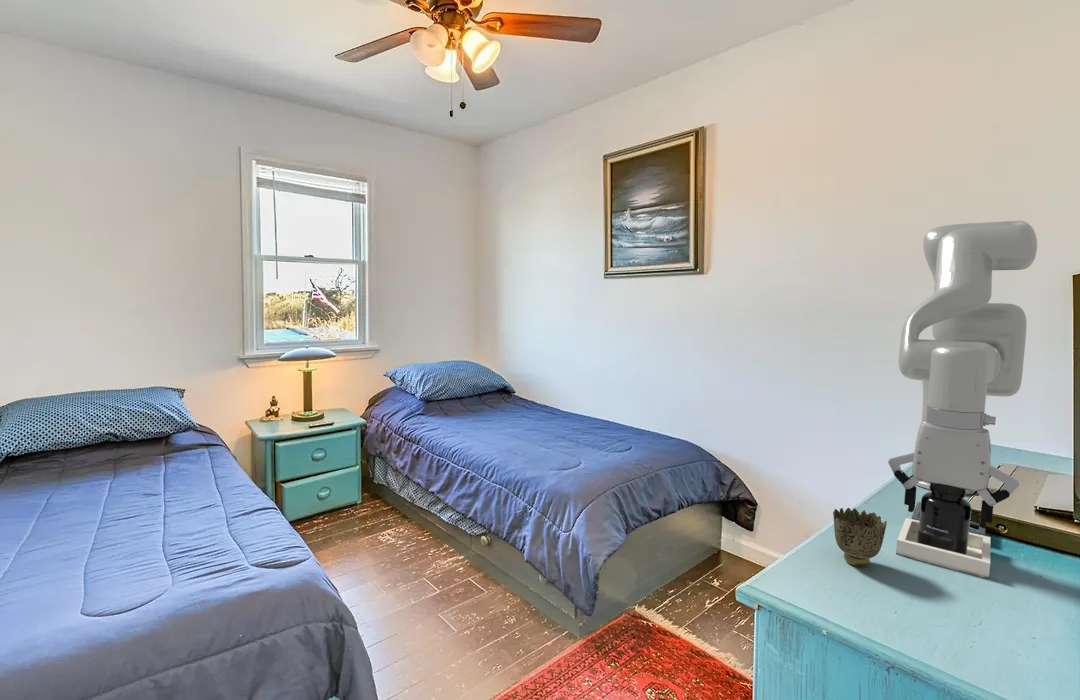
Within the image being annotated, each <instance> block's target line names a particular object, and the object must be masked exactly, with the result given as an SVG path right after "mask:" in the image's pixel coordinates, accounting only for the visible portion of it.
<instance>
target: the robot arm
mask: <svg viewBox="0 0 1080 700" xmlns="http://www.w3.org/2000/svg"><path fill="white" fill-rule="evenodd" d="M922 245H923V253H924V257H925V260H926V263H927V265H928V268H929V269H930V272H931V275H932V276H933V282H934V287H933V289H934V290H933V294H932V295H930V296H929V297H928V298H926V299H925V300H924V301H922V302H921V303H919V305H917V306H916V307H915V308H914V309H913V310H912V311H911V312H910V314H909V315H908V316H907V318H906V320H905V321H904V323H903V326H902V328H901V329H902V330H901V333H900V334H901V335H900V341H899V342H900V343H899V351H898V368H899V371H900V373H901V374H902V375H903V376H904V377H905V378H907V379H910V380H914V381H916V380H917V381H922V412H921V413H922V414H921V423H920V424H919V428H918V431H917V435H916V439H915V444H914V445H915V446H914V452H912V453H908V454H904V455H903V454H902V455H900V456H895V457H891V458H890V459H889V460H888V461H887V462H888V465H889V467H890V469H891V471H892V473H893V476H894V477H895V478H896V479H897V480H898V481H899V482H900V483H901V484H902V486H903V487H904V489H905V490H904V500H903V502H904V503H903V504H904V505H906V506H908V508H907V511H908V512H910V513H914V510H915V507H916V498H917V486H918V487H921V488H923V489H924V488H925V489H927V490H929V486H930V483H933V484H943V485H948V486H953V487H958V488H960V489H965V490H966V495H972V494H975V493H974V492H975V491H977V492H976V493H978V495H980V497H981V498H982V500H981V507H980V508H981V509H980V515H981V518H980V527H981V528H984V529H985V530H986V528H987V527H986V525H987V523H989V524H992V523H993V522H992V521H993V513H994V512H993V511H994V506H996V505H997V504H998V503H1000V502H1002V501H1004V500H1007V499H1008V498H1010V496H1011V495H1012V494H1013V493H1014V492H1015V491H1016V490H1017V489H1018V487H1019V486H1020V482H1019V480H1018V479H1016V478H1014V477H1012V476H1011V475H1009V474H1007V473H1005V472H1004V471H1002V470H1001V469H998V468H996V467H995V466H993V465H992V464H991V457H992V456H991V455H992V454H991V452H992V451H991V450H992V448H991V436H990V432H989V430H988V429H986V428H984V427H986V426H989V425H991V426H992V425H993V426H995V425H996V420H997V419H996V418H997V417H996V416H993V415H992V416H991V415H989V414H987V413H985V411H986V402H987V396H989V397H1004V398H1005V397H1006V398H1007V397H1011V396H1015V395H1016V394H1017V393H1018V392H1019V391H1020V388H1021V385H1022V380H1023V371H1024V360H1025V352H1026V351H1025V348H1026V340H1027V339H1026V338H1027V316H1026V313H1025V311H1024V309H1023V308H1022V307H1021V306H1019V305H1016V304H1013V303H1002V302H1001V303H999V302H998V303H997V302H995V303H994V302H993V303H992V302H990V300H991V297H992V293H993V292H992V290H993V289H992V287H993V285H992V284H993V283H992V281H993V271H1021V270H1026V269H1028V268H1029V267H1030V266H1031V265H1032V264H1033V263H1034V261H1035V259H1036V255H1037V251H1038V239H1037V233H1036V232H1035V230H1034V228H1033V226H1032V225H1030V224H1029V223H1028V222H1027V221H1024V220H1006V221H1004V220H1003V221H990V222H976V223H975V222H971V223H970V222H968V223H956V224H947V225H942V226H937V227H935V228H934V227H933V228H931V229H930V230H929V229H928V231H927V232H926V233H925V235H924V236H923V243H922ZM989 302H990V303H989ZM930 326H931V329H932V336H933V338H934V339H919V337H920V335H921V333H922V332H923V331H925V330H926V329H927V328H929V327H930ZM908 463H909V464H910V463H912V472H911V473H910V474H909V476H908V474H906V473H905V472H904V471H903V470H902V467H901V465H905V464H908ZM990 477H993V478H995V479H997V480H998V481H1000V482H1002V483H1003V484H1004V485H1003V486H1002V487H1001V488H999V489H997V490H996V491H992V490H991V489H990V488H989V487H988V486H989V484H990Z"/></svg>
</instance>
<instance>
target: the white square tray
mask: <svg viewBox="0 0 1080 700" xmlns="http://www.w3.org/2000/svg"><path fill="white" fill-rule="evenodd" d="M918 527H919V521H918V520H913V519H912V518H909V517H905V519H904V522H903V524H902V527H901V529H900V532H899V534H898V537H897V539H896V548H895V549H896V550H895V555H898V556H902V557H905V558H910V559H912V560H917V561H920V562H924V563H929V564H931V565H936V566H940V567H943V568H945V569H946V568H947V569H949V570H954V571H957V572H960V573H966V574H969V575H973V576H977V577H980V578H983V579H987V580H989V579H990V571H991V570H990V569H991V540H992V539H991V536H987V535H985V536H983V535H979V534H974V533H970V532H969V538H968V547H967V553H966V555H964V554H960V553H956V552H952V551H948V550H944V549H940V548H936V547H932V546H928V545H924V544H920V543H918V541H917V539H918Z"/></svg>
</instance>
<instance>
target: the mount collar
mask: <svg viewBox="0 0 1080 700" xmlns="http://www.w3.org/2000/svg"><path fill="white" fill-rule="evenodd" d="M920 507H921V501H916V504H915V508H914V511H913V512H912V516H911V519H913V520H918V521H919V517H920ZM970 525H972V526H973V525H974V526H978V530H973V529H969V532H970V533H974V534H979V535H983V536H986V528H985V529H984V528H981V527H980V525H979V523H976V522H973V521H970Z"/></svg>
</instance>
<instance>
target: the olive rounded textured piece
mask: <svg viewBox="0 0 1080 700" xmlns="http://www.w3.org/2000/svg"><path fill="white" fill-rule="evenodd" d="M832 515H833V529H834V531H833V532H834V537H835V542H836V544H837V547H838V548H839V549H840V550H841V551H842V552H843V558H844V561H845V562H846V563H848V564H850V565H852V566H854V567H858V568H860V567H861V568H864V567H867V566H869V565H870V563H871V560H870V559H872V558H874V557H876V556H877V555H878V554H879V552H880V550H881V548H882V545H883V542H884V539H885V538H884V537H885V533H886V528H887V523H888V521H887V520H884V521H883V522H882V519H881V518H882V517H881V515H877V514H876V513H875V512H870V513H867V512H866V510H865V509H863V510H862V511H861V513H860V512H859V511H858V509H856V508H855V507H854V508H852V509H851V508H850V507H847V508H846V509H845V510H844V508H842V507H841V508H839V510H838V509H837V508H834V510H833V511H832Z"/></svg>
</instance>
